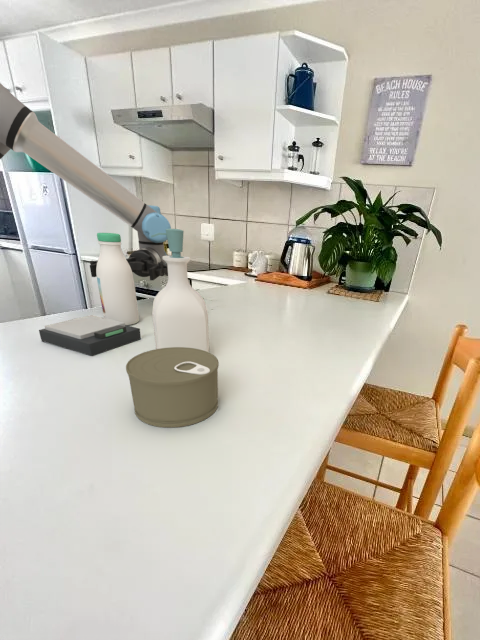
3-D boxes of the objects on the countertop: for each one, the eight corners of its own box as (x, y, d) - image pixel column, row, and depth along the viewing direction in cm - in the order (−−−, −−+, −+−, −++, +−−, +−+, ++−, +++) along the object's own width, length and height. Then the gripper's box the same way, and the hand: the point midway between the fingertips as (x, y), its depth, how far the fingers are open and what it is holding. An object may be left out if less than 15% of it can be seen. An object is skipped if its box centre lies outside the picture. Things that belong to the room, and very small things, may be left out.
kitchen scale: (41, 341, 65) (37, 325, 63) (94, 327, 75) (91, 312, 73) (91, 356, 60) (88, 339, 59) (141, 338, 70) (139, 323, 69)
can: (172, 380, 54) (169, 341, 51) (234, 397, 51) (234, 357, 47) (113, 413, 44) (104, 367, 41) (184, 438, 40) (180, 390, 37)
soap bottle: (158, 346, 67) (145, 225, 57) (205, 345, 70) (201, 229, 60) (157, 365, 59) (141, 227, 49) (210, 362, 62) (206, 232, 52)
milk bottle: (146, 320, 82) (135, 234, 73) (125, 328, 76) (110, 235, 67) (119, 316, 84) (106, 231, 75) (97, 323, 77) (79, 231, 68)
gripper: (188, 277, 101) (175, 291, 83) (103, 272, 98) (70, 285, 79) (186, 252, 98) (173, 260, 79) (98, 246, 94) (63, 253, 76)
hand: (121, 273), depth 79 cm, fingers open, 13 cm apart
